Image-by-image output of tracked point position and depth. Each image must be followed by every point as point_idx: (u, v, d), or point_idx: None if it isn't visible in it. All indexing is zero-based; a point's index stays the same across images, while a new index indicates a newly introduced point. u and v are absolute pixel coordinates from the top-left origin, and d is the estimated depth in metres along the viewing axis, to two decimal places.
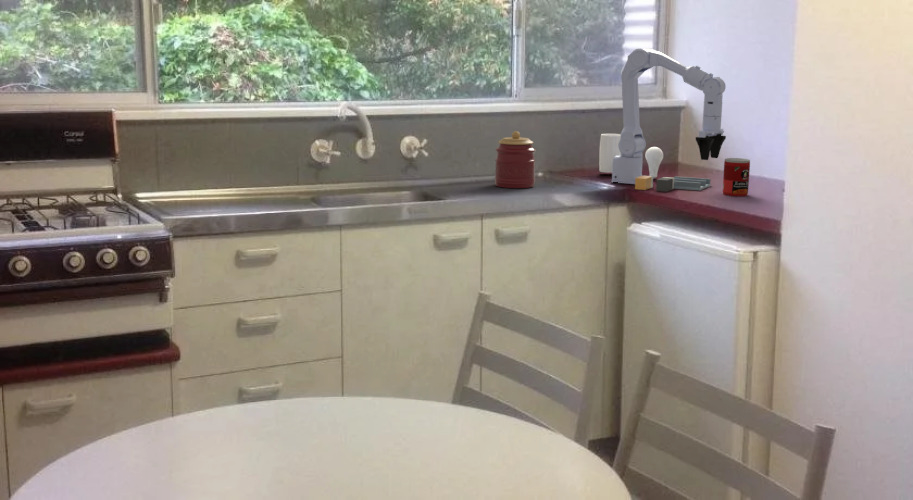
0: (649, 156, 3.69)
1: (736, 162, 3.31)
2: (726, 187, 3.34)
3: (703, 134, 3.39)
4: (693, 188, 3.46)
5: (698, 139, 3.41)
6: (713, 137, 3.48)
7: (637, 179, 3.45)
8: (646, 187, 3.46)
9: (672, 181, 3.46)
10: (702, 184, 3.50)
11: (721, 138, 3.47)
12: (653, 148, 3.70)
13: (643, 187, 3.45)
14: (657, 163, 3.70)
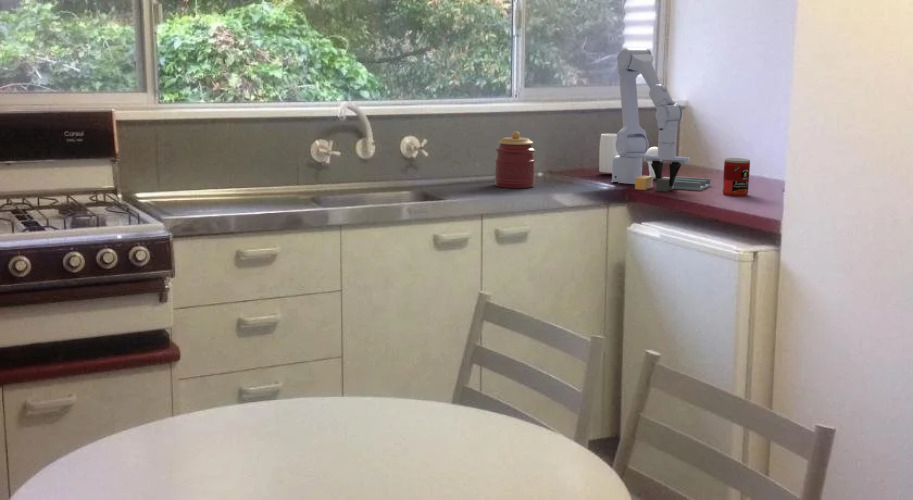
0: None
1: (736, 162, 3.31)
2: (726, 187, 3.34)
3: None
4: (693, 188, 3.46)
5: None
6: None
7: (637, 179, 3.45)
8: (646, 187, 3.46)
9: None
10: (702, 184, 3.50)
11: None
12: (653, 148, 3.70)
13: (643, 187, 3.45)
14: None
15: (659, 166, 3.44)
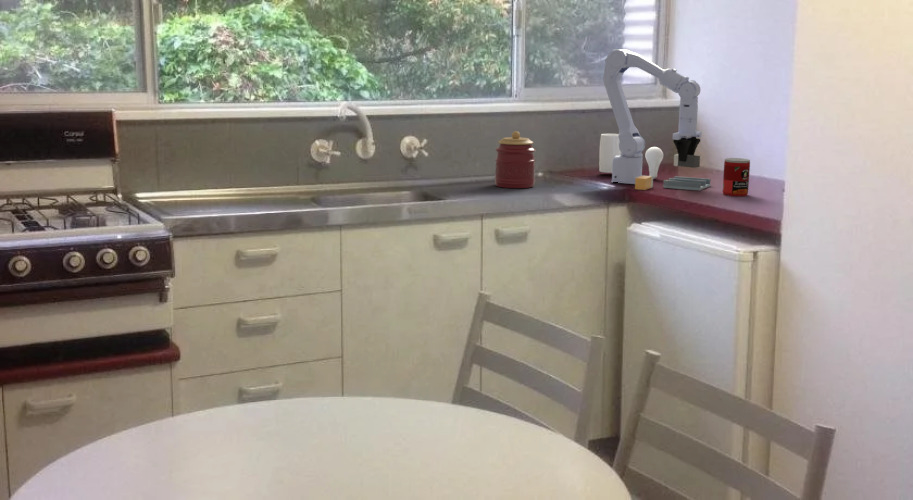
0: (649, 156, 3.69)
1: (736, 162, 3.31)
2: (726, 187, 3.34)
3: (676, 136, 3.45)
4: (693, 188, 3.46)
5: (675, 141, 3.48)
6: (688, 140, 3.52)
7: (637, 179, 3.45)
8: (646, 187, 3.46)
9: None
10: (702, 184, 3.50)
11: (695, 141, 3.51)
12: (653, 148, 3.70)
13: (643, 187, 3.45)
14: (657, 163, 3.70)
15: None
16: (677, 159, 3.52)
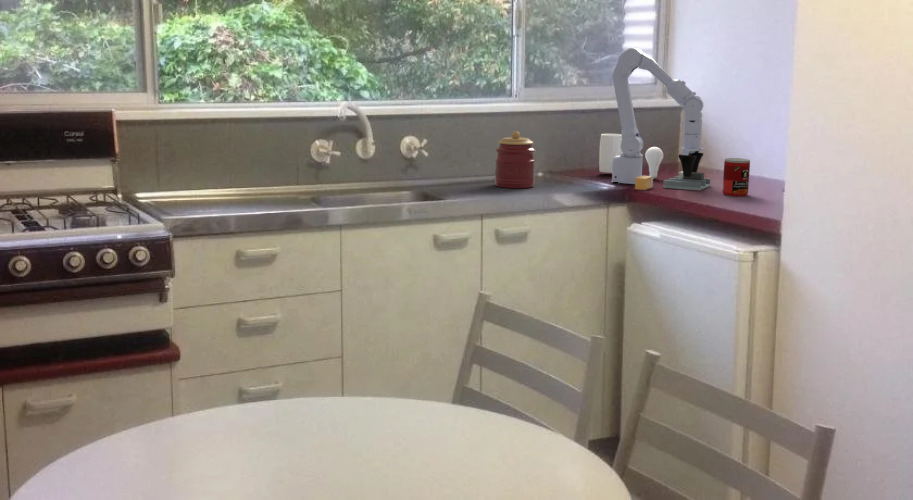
0: (649, 156, 3.69)
1: (736, 162, 3.31)
2: (726, 187, 3.34)
3: (686, 152, 3.47)
4: (693, 188, 3.46)
5: (681, 157, 3.50)
6: (691, 154, 3.57)
7: (637, 179, 3.45)
8: (646, 187, 3.46)
9: None
10: (702, 184, 3.50)
11: (699, 155, 3.55)
12: (653, 148, 3.70)
13: (643, 187, 3.45)
14: (657, 163, 3.70)
15: None
16: (682, 177, 3.54)
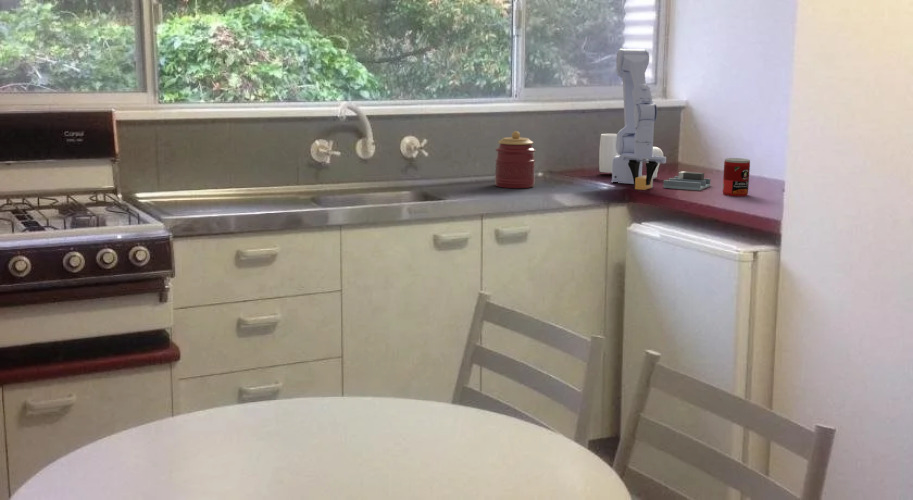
0: None
1: (736, 162, 3.31)
2: (726, 187, 3.34)
3: None
4: (693, 188, 3.46)
5: None
6: None
7: (637, 179, 3.45)
8: (646, 187, 3.46)
9: None
10: (702, 184, 3.50)
11: None
12: (653, 148, 3.70)
13: (643, 187, 3.45)
14: None
15: (636, 165, 3.45)
16: (682, 177, 3.54)
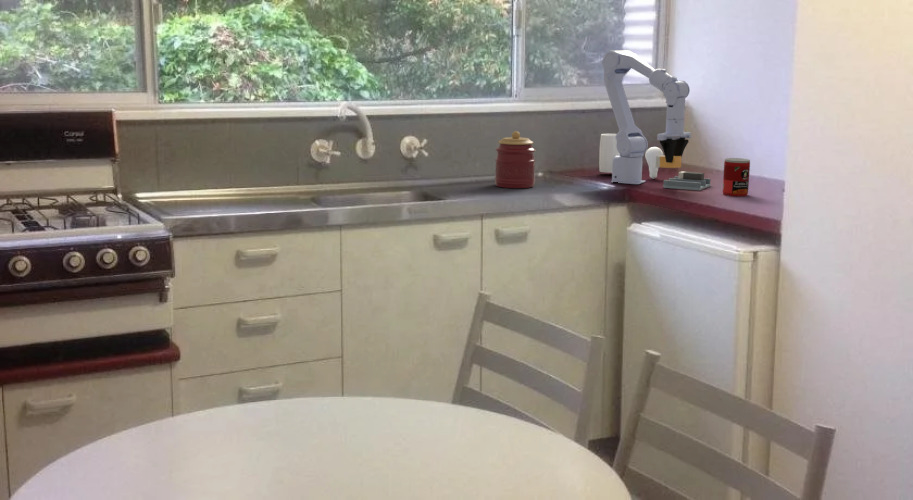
0: (649, 156, 3.69)
1: (736, 162, 3.31)
2: (726, 187, 3.34)
3: (661, 137, 3.41)
4: (693, 188, 3.46)
5: (661, 142, 3.45)
6: (676, 141, 3.48)
7: (675, 157, 3.45)
8: None
9: None
10: (702, 184, 3.50)
11: (682, 142, 3.46)
12: (653, 148, 3.70)
13: (680, 165, 3.47)
14: None
15: None
16: (682, 177, 3.54)
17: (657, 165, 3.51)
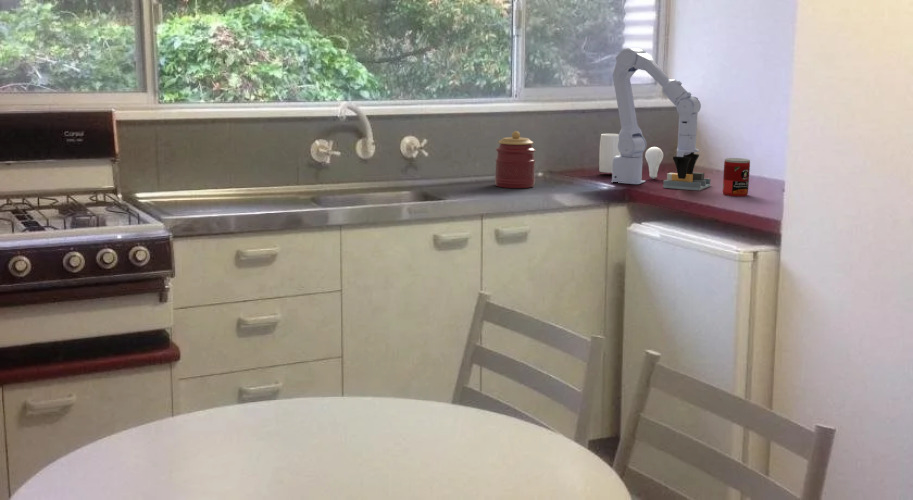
0: (649, 156, 3.69)
1: (736, 162, 3.31)
2: (726, 187, 3.34)
3: (681, 153, 3.42)
4: (693, 188, 3.46)
5: (676, 158, 3.44)
6: (687, 156, 3.52)
7: (690, 176, 3.48)
8: None
9: None
10: (702, 184, 3.50)
11: (695, 157, 3.51)
12: (653, 148, 3.70)
13: None
14: (657, 163, 3.70)
15: None
16: None
17: None
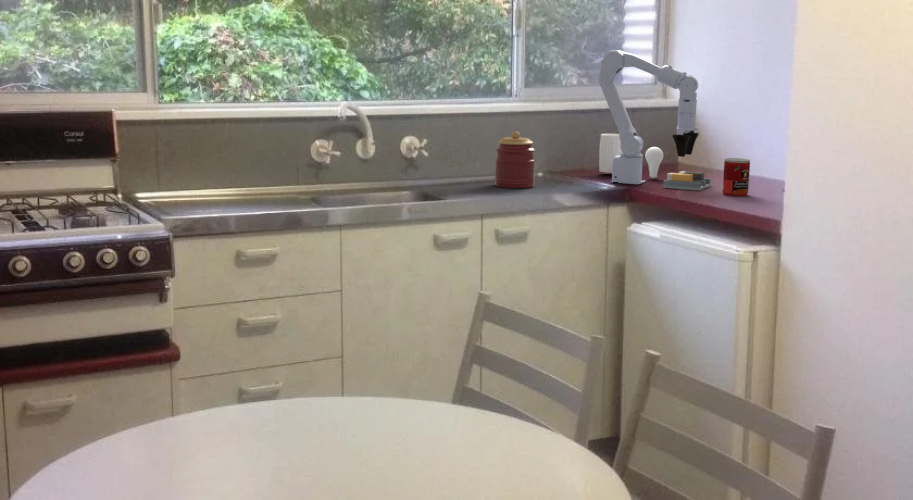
0: (649, 156, 3.69)
1: (736, 162, 3.31)
2: (726, 187, 3.34)
3: (681, 131, 3.46)
4: (693, 188, 3.46)
5: (675, 136, 3.48)
6: (686, 134, 3.57)
7: (690, 176, 3.48)
8: None
9: None
10: (702, 184, 3.50)
11: (695, 135, 3.55)
12: (653, 148, 3.70)
13: None
14: (657, 163, 3.70)
15: None
16: None
17: None
